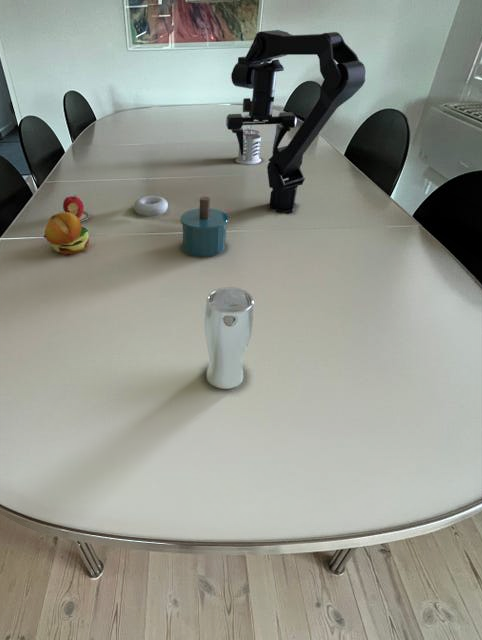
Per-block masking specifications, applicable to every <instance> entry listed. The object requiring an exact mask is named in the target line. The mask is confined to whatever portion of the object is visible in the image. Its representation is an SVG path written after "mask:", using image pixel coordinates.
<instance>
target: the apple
mask: <svg viewBox="0 0 482 640" xmlns="http://www.w3.org/2000/svg"><path fill="white" fill-rule="evenodd" d="M62 203H63V204H62V209H63V211H64V212H68V213H72V214H74V215H75V216H77V217H78V219H79V220H80V222H81V223H82V222H83V221H86V220H88V219H89V218H90V217H91V214H90V213H89V212H87V211H84V210H85V208H84V203H83V201H82V199H81V198H79V196H77V194H74V196H72V195H71V196H67V197H65V198H64V200H63V202H62Z"/></svg>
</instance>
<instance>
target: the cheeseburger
mask: <svg viewBox="0 0 482 640" xmlns="http://www.w3.org/2000/svg"><path fill="white" fill-rule="evenodd" d="M88 232H89V229H87V227H84V226H82V221H81V222H80V220H79V219H78V217H77V216H75V215H74V214H72V213H68V212H65V211H64V212H63V211H62V212H58V213H55V214H54V215H52V216H51V217H50V218H49V221H48V222H47V224H46V226H45V229H44V235H43V238H44V239H46V241H47V242H48V243H49V244H50V245H51V247H52V249H53V250H54V251H55V252H56V253H59V254H61V255H62V254H63V255H72V254H74V255H75V254H78V253H81V252H84V251H85V250H86V249H87V248H88V247H89V244H90V239H89V233H88Z"/></svg>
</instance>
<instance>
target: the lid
mask: <svg viewBox="0 0 482 640" xmlns="http://www.w3.org/2000/svg"><path fill="white" fill-rule="evenodd" d="M198 200H199V201H198V202H199V206H198V207H199V208H195V209H190V210H187V211H185V212H184V213H182V214H181V215H180V223H181V225H182V224H183V225H184V226H186V227H188V228H192V229H197V230H211V229H216V228H220V227H222V226H224V225H225V224H226V225H227V224H228V222H229V215H228V214H227V213H226V212H224V211H223V210H219V209H216V208H210V206H211V205H210V204H211V197H208V196H200V197H199V199H198ZM183 225H182V226H183Z"/></svg>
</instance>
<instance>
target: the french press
mask: <svg viewBox="0 0 482 640" xmlns="http://www.w3.org/2000/svg"><path fill="white" fill-rule="evenodd" d="M243 117H250V116H249V113H248V114H246V115H243ZM254 121H256V120H254ZM242 130H243V155H241V152H240V148H239V147H238V154H237V155H238V156H237V157H236V158H235V162H236V163H238V164H242V165H256V164H259V163H261V162H262V159H261V158H260V150H261V140H262V136H261V135H260V134H261V130H259V129H252V128H250V125H247V128H246V125H243V126H242Z"/></svg>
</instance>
